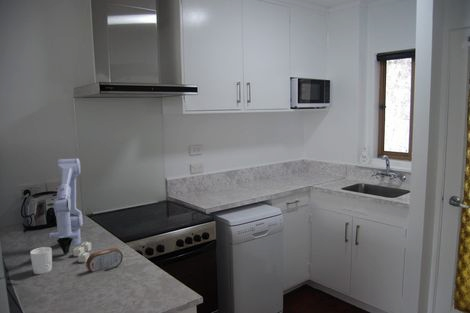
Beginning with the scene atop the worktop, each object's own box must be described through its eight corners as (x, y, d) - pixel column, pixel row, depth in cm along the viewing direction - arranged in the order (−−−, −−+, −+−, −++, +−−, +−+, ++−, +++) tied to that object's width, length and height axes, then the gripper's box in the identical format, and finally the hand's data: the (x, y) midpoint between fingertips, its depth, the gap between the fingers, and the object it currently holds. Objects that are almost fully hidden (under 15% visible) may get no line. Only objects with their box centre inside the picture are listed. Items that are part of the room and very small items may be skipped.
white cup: (57, 270, 153) (55, 247, 152) (42, 278, 146) (40, 255, 144) (43, 268, 156) (41, 246, 154) (27, 276, 148) (25, 252, 147)
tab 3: (78, 262, 158) (77, 253, 158) (82, 259, 161) (81, 251, 161) (85, 262, 158) (85, 254, 157) (89, 259, 161) (89, 251, 160)
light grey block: (81, 251, 171) (80, 243, 170) (84, 248, 174) (84, 241, 174) (88, 251, 170) (87, 243, 170) (91, 248, 174) (91, 241, 173)
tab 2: (73, 256, 165) (73, 248, 165) (77, 253, 168) (77, 245, 168) (80, 256, 165) (80, 248, 164) (84, 253, 168) (84, 245, 167)
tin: (121, 263, 159) (120, 245, 158) (124, 265, 157) (123, 247, 156) (86, 274, 149) (85, 254, 148) (89, 276, 147) (87, 256, 146)
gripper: (43, 227, 163) (46, 255, 164) (73, 227, 160) (75, 256, 162) (53, 222, 170) (56, 249, 171) (82, 223, 167) (84, 250, 169)
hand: (66, 252), depth 167 cm, fingers closed
